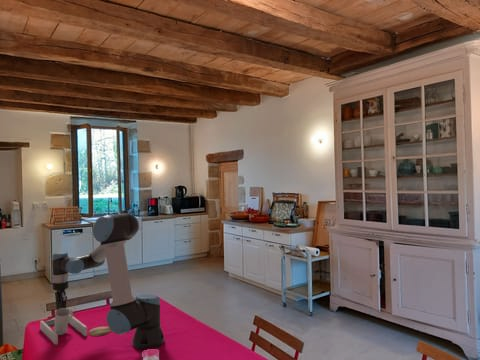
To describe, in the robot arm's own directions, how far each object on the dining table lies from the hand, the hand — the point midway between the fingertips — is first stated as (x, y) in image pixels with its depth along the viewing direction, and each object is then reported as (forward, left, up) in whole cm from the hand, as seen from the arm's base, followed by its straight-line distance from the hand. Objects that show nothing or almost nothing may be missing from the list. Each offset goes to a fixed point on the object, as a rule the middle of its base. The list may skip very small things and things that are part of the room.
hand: (61, 325), depth 201 cm
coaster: (-16, -14, -3) cm, 22 cm away
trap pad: (+15, 0, -3) cm, 15 cm away
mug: (-3, 0, -2) cm, 3 cm away
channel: (-3, 0, -3) cm, 4 cm away
